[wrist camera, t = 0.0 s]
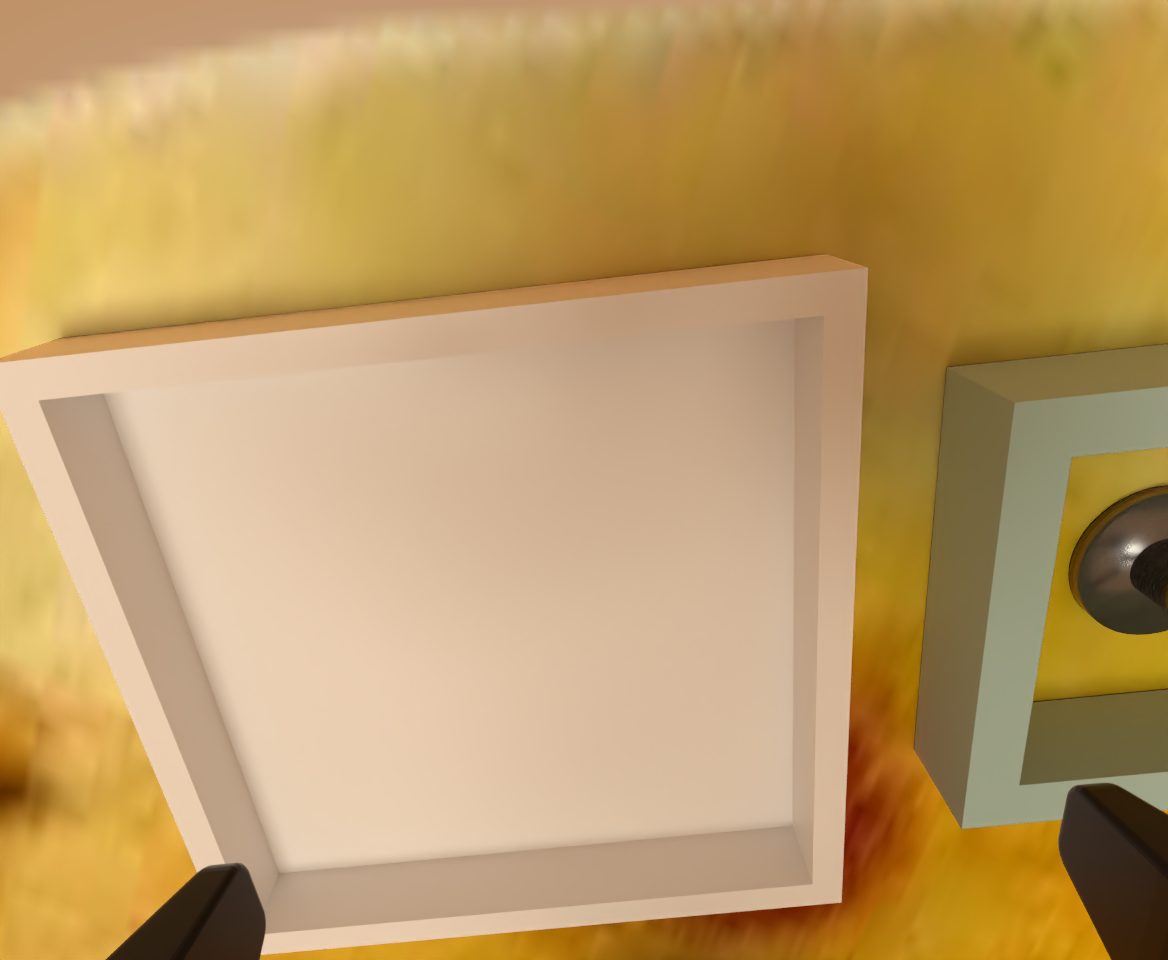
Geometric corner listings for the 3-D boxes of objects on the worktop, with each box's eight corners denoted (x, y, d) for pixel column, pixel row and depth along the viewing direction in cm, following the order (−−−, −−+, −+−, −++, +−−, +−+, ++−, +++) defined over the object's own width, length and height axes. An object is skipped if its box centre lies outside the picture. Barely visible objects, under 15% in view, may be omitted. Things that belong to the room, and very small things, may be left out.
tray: (814, 830, 28) (841, 902, 25) (266, 880, 28) (233, 957, 26) (826, 254, 20) (868, 267, 17) (60, 338, 20) (-19, 364, 18)
